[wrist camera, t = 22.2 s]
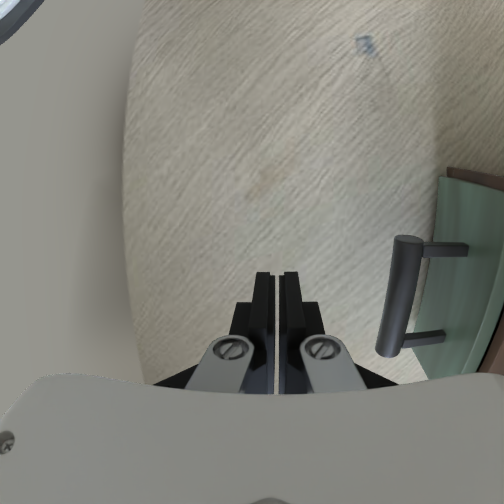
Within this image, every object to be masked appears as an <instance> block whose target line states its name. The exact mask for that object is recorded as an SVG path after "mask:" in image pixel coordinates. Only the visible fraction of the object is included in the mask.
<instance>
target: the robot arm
mask: <svg viewBox="0 0 504 504" xmlns="http://www.w3.org/2000/svg"><path fill="white" fill-rule="evenodd" d="M19 1H20V0H0V20H1V19H2V18H3V17H5V16H6V15H7V14H8V13H9V12H10V11H11V10H12V9H13V8H14V7H15V6H16V5H17V4H18V2H19ZM274 372H275V275H270V272H257V273H256V279H255V286H254V292H253V299H252V302H237V304H236V307H235V311H234V315H233V320H232V324H231V328H230V332H229V335H227V336H222V337H219V338H217V339H216V340H214V341H212V343H211V344H210V345H209V347H208V348H207V350H206V352H205V354H204V355H203V357H202V359H201V361H200V362H199V364H197V365H195V366H193V367H191V368H188V369H186V370H184V371H182V372H180V373H178V374H176V375H174V376H171V377H169V378H167V379H165V380H162V381H160V382H158V383H156V384H154V385H147V384H141V383H135V382H129V381H123V380H117V379H111V378H106V377H100V376H94V375H86V374H71V373H66V374H54V375H48V376H45V377H42V378H40V379H38V380H36V381H35V382H34V383H32V384H31V385H30V386H29V387H28V388H27V389H26V390H25V391H24V392H23V393H22V394H21V395H20V396H19V397H18V398H17V399H16V401H15V402H14V403H13V404H12V405H11V406H10V408H9V409H8V410H7V412H6V413H5V414H4V415H3V417H2V418H1V419H0V504H504V376H503V375H499V374H493V373H466V374H459V375H452V376H447V377H442V378H437V379H431V380H425V381H420V382H414V383H409V384H403V385H399V384H397V383H395V382H392V381H390V380H388V379H386V378H384V377H382V376H380V375H378V374H376V373H374V372H371V371H369V370H367V369H365V368H363V367H361V366H359V365H357V364H355V363H354V362H353V360H352V358H351V356H350V354H349V352H348V351H347V349H346V347H345V345H344V344H343V342H342V341H341V340H339V339H338V338H336V337H333V336H331V335H325V331H324V327H323V322H322V318H321V314H320V310H319V306H318V302H302V296H301V290H300V284H299V277H298V272H284V275H279V394H284V395H268V394H274Z"/></svg>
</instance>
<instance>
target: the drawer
mask: <svg viewBox="0 0 504 504" xmlns="http://www.w3.org/2000/svg"><path fill="white" fill-rule="evenodd" d="M422 257H423V258H430V263H429V268H428V273H427V279H426V283H425V288H424V293H423V297H422V301H421V306H420V310H419V314H418V317H417V321H416V325H415V328H414V332H413V333H406V334H405V332H406V329H407V325H408V321H409V317H410V313H411V309H412V305H413V300H414V296H415V291H416V286H417V281H418V276H419V270H420V265H421V259H422ZM503 312H504V191H503V190H500V189H496V188H493V187H489V186H485V185H481V184H478V183H474V182H470V181H465V180H461V179H457V178H452V177H444V176H439V183H438V199H437V211H436V220H435V229H434V237H433V242H424V241H423V240H422V239H420V238H418V237H415V236H411V235H397V236H395V238H394V245H393V253H392V261H391V268H390V275H389V281H388V287H387V293H386V299H385V304H384V309H383V314H382V319H381V324H380V329H379V333H378V337H377V342H376V346H375V350H376V352H377V353H378V354H379V355H380V356H382V357H386V358H392V357H395V356H397V355H398V354H399V353H400V350H401V348H412V349H413V351H414V353H415V355H416V357H417V358H418V360H419V362H420V364H421V366H422V368H423V370H424V371H425V373H426V375H427V377H428V379H429V380H431V379H437V378H442V377H447V376H452V375H459V374H466V373H478V372H479V370H480V367H481V365H482V363H483V361H484V359H485V357H486V355H487V352H488V350H489V348H490V346H491V343H492V341H493V338H494V336H495V333H496V331H497V328H498V326H499V323H500V320H501V318H502V315H503Z"/></svg>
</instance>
